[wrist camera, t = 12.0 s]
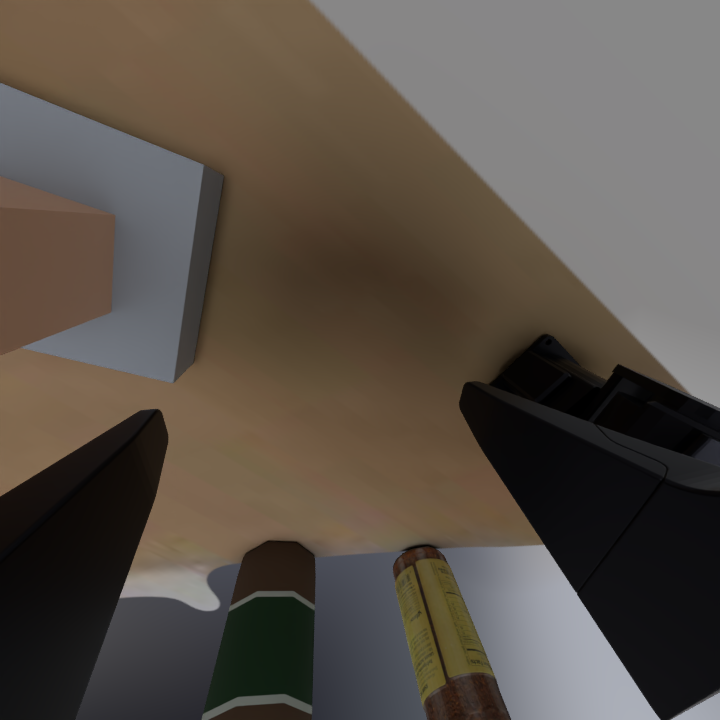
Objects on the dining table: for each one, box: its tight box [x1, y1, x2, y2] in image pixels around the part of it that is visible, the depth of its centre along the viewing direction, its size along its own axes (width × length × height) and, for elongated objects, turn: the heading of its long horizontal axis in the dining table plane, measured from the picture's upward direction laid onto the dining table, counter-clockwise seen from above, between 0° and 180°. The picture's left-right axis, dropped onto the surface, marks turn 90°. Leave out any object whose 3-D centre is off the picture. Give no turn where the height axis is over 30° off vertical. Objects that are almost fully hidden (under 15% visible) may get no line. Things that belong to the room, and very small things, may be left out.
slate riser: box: [0, 83, 224, 383], centre depth 16 cm, size 12×12×3 cm
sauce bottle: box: [393, 546, 511, 720], centre depth 24 cm, size 6×6×20 cm
